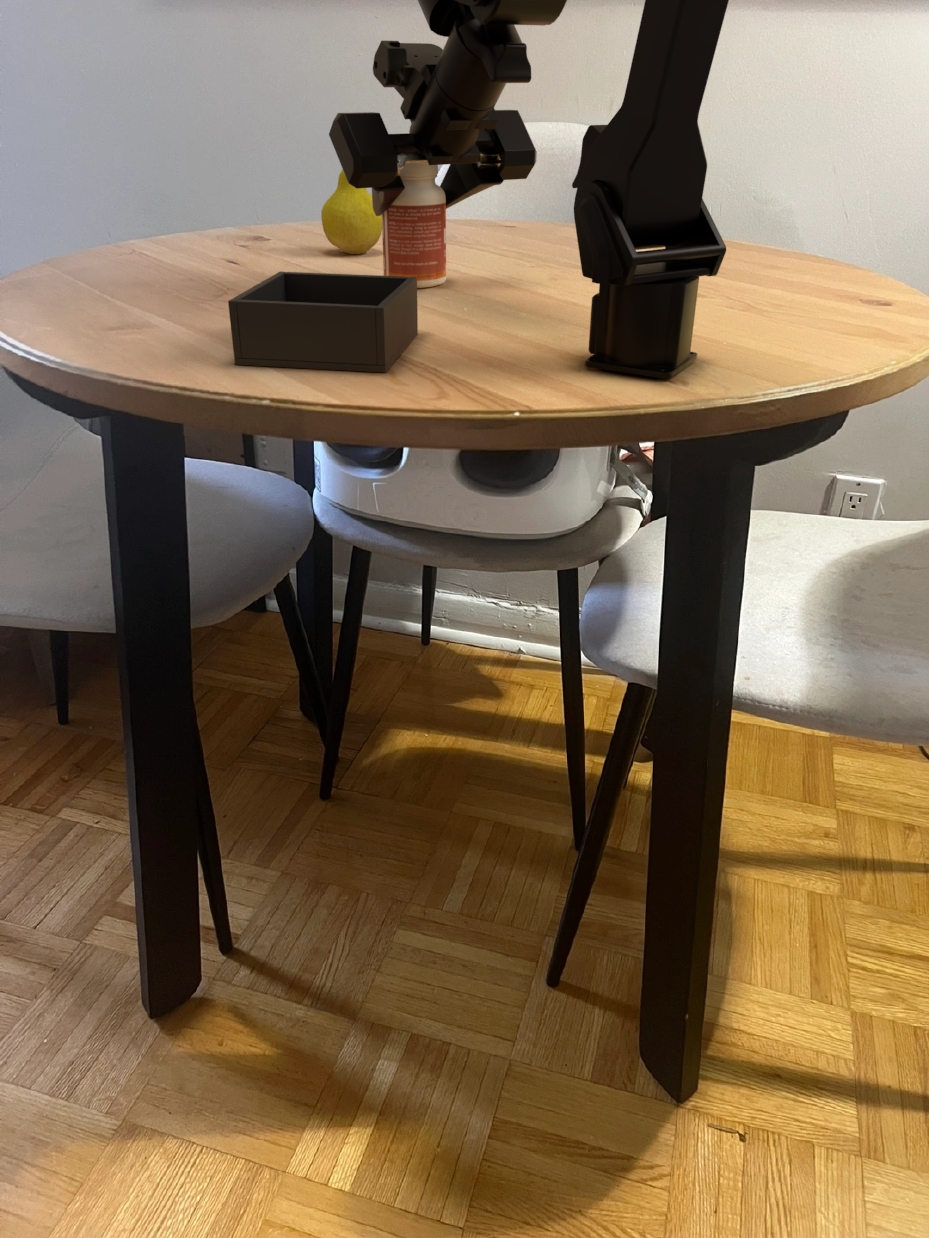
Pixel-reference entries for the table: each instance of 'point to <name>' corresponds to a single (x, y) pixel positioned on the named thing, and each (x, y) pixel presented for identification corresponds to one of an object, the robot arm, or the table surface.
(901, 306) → the table surface
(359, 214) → the fruit
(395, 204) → the pill bottle
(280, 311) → the black open box
